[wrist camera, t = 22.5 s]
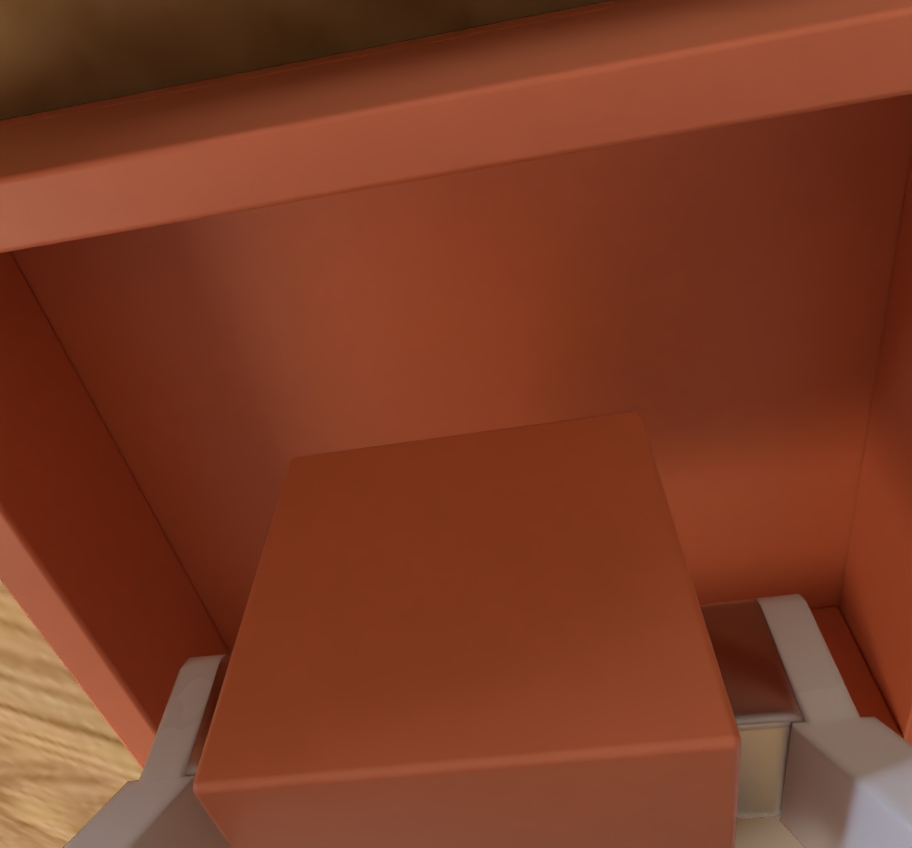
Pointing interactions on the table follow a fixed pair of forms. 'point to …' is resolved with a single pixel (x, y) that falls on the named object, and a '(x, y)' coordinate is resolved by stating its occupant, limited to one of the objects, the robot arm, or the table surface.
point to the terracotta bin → (468, 310)
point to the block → (475, 655)
